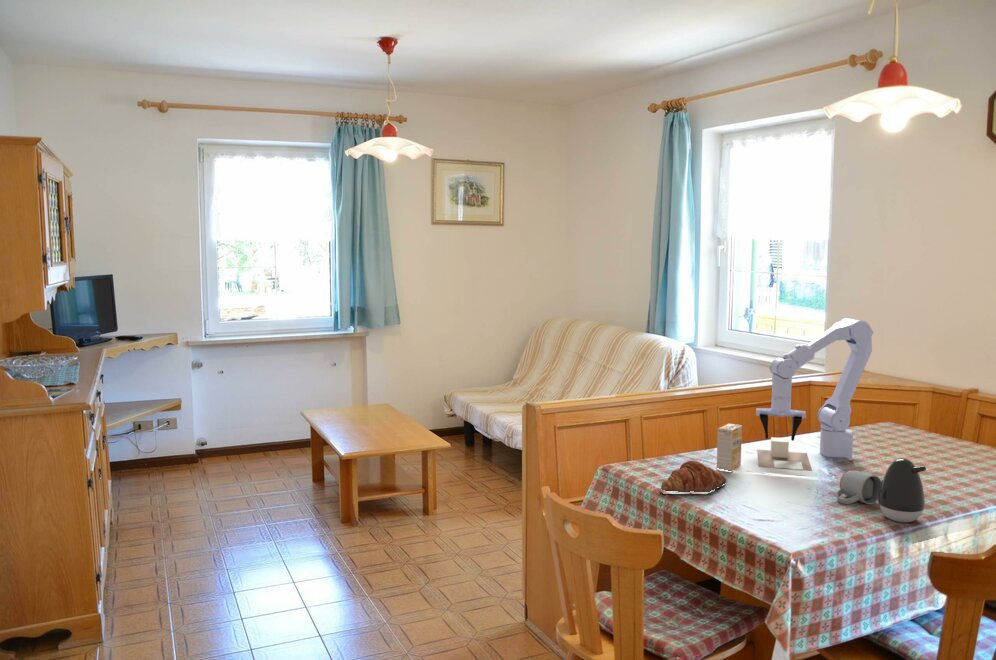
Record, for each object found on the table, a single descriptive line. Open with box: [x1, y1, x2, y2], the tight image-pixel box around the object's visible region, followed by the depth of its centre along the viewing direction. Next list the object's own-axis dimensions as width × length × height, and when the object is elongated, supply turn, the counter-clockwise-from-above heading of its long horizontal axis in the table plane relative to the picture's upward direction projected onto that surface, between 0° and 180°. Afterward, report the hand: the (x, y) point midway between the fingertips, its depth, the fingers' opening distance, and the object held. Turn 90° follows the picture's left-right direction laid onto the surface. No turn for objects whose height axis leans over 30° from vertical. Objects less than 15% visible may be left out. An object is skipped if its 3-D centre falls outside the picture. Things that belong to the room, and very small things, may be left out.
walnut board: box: [756, 449, 813, 472], centre depth 240 cm, size 15×20×4 cm
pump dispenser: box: [877, 457, 927, 523], centre depth 190 cm, size 10×10×15 cm
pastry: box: [660, 460, 727, 492], centre depth 215 cm, size 17×15×8 cm
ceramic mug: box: [835, 470, 882, 505], centre depth 205 cm, size 11×8×8 cm
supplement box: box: [716, 423, 743, 471], centre depth 233 cm, size 8×5×13 cm, turn 143°
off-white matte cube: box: [770, 436, 790, 458], centre depth 245 cm, size 5×5×5 cm
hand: (779, 439), depth 245 cm, fingers open, 7 cm apart
